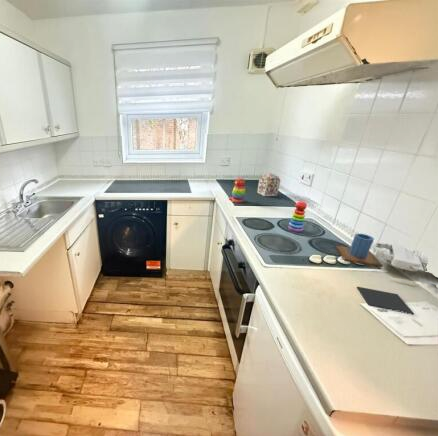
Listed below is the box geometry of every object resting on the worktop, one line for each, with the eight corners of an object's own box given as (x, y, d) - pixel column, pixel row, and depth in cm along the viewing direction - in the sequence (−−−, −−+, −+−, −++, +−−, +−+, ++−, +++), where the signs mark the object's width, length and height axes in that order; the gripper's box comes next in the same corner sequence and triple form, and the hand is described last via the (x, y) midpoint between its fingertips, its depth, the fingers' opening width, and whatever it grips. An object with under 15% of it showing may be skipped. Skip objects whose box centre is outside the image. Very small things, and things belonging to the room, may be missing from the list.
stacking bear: (227, 198, 190) (231, 176, 183) (239, 198, 191) (243, 176, 184) (234, 203, 180) (237, 180, 173) (246, 202, 181) (250, 179, 174)
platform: (366, 255, 112) (371, 242, 109) (379, 270, 100) (386, 256, 98) (333, 250, 116) (338, 237, 113) (343, 264, 105) (348, 251, 102)
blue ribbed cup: (362, 252, 109) (369, 234, 105) (368, 259, 103) (376, 241, 100) (346, 249, 111) (353, 232, 107) (352, 256, 105) (359, 238, 102)
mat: (396, 295, 87) (397, 294, 87) (413, 314, 78) (414, 313, 78) (356, 287, 91) (357, 286, 90) (368, 305, 82) (368, 304, 82)
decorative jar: (277, 196, 196) (282, 174, 189) (264, 196, 194) (268, 175, 187) (268, 192, 207) (273, 171, 200) (256, 192, 205) (260, 172, 198)
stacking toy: (286, 228, 139) (294, 198, 132) (302, 231, 135) (311, 200, 128) (285, 233, 133) (293, 202, 125) (302, 237, 129) (311, 204, 122)
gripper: (424, 279, 87) (374, 265, 96) (416, 256, 102) (373, 246, 110) (432, 264, 85) (380, 251, 93) (422, 243, 99) (378, 234, 108)
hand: (376, 248), depth 102 cm, fingers open, 8 cm apart
